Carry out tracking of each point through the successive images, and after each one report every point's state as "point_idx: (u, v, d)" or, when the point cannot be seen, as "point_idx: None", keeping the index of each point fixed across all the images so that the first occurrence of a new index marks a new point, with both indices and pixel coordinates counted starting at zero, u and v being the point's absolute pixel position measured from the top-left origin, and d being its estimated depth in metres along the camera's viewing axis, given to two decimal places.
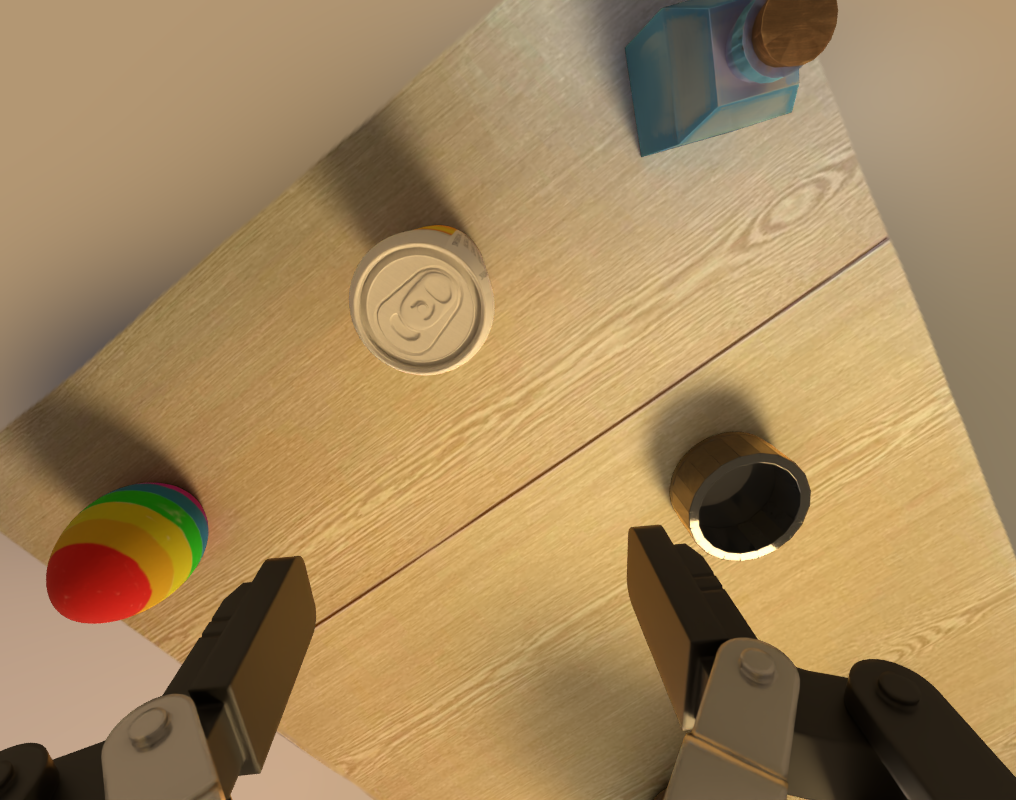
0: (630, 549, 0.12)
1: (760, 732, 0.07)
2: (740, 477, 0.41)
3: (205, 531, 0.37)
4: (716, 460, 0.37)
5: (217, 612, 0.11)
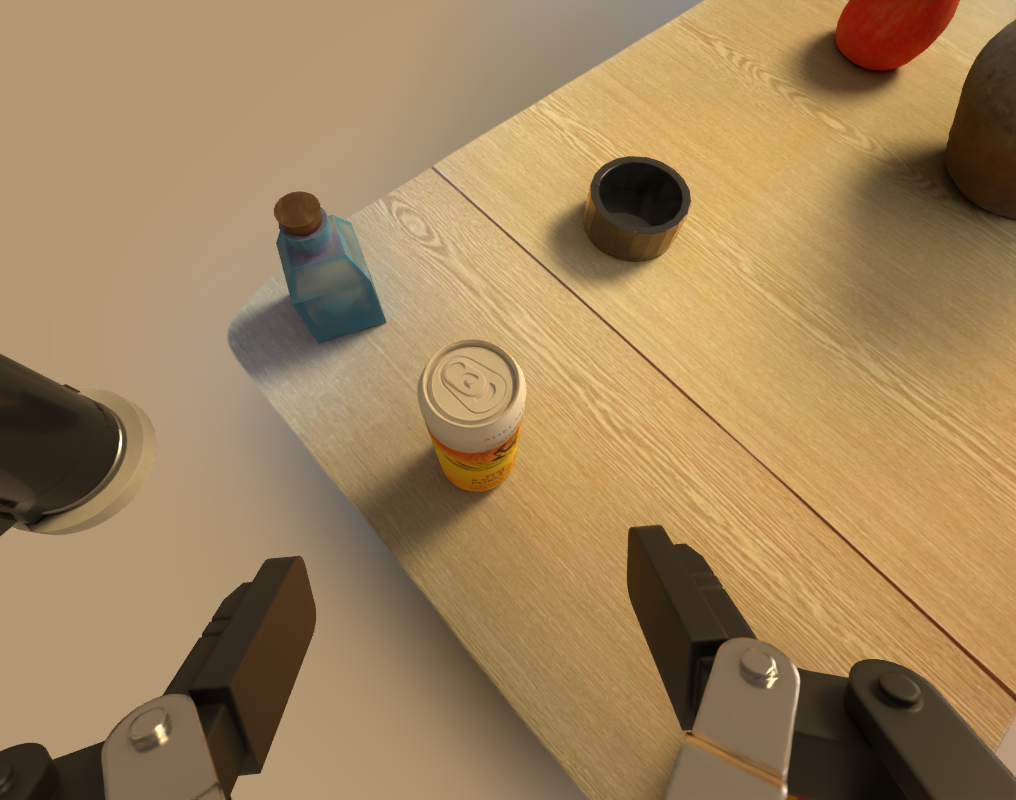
0: (630, 549, 0.12)
1: (760, 732, 0.07)
2: (620, 212, 0.50)
3: None
4: (604, 225, 0.46)
5: (217, 612, 0.11)
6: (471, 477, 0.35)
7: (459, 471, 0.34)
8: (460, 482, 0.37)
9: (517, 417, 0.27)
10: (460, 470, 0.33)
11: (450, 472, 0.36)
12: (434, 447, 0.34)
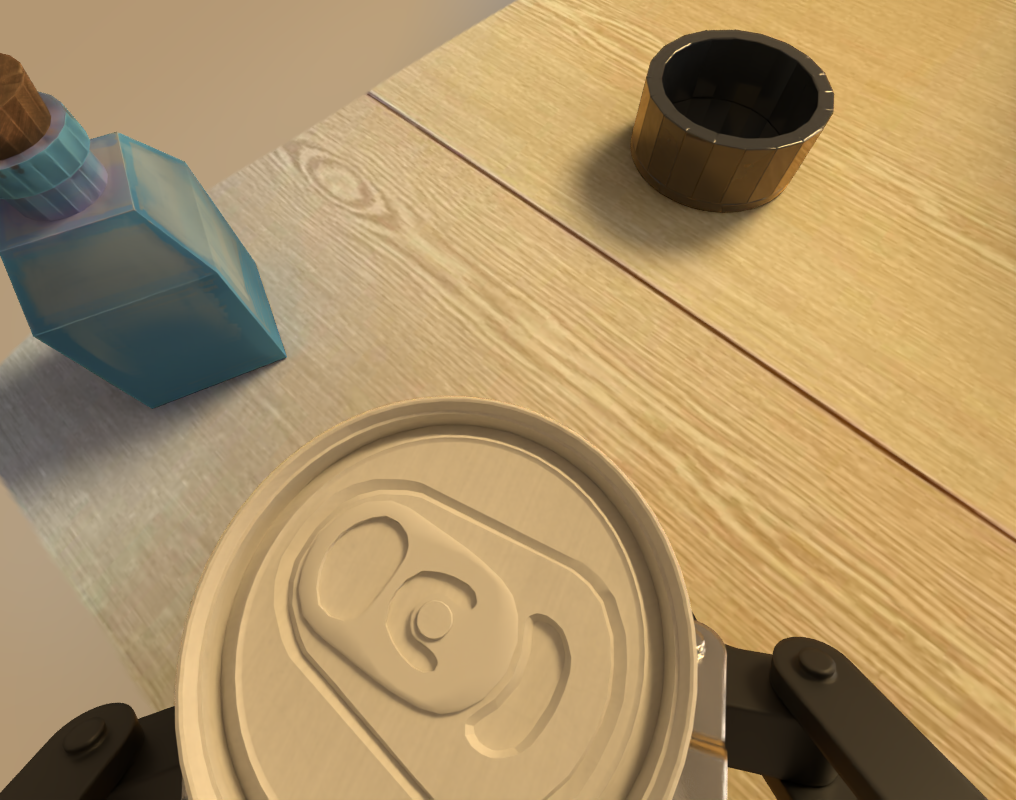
0: None
1: (697, 705, 0.07)
2: None
3: None
4: (681, 146, 0.25)
5: None
6: None
7: None
8: None
9: None
10: None
11: None
12: None
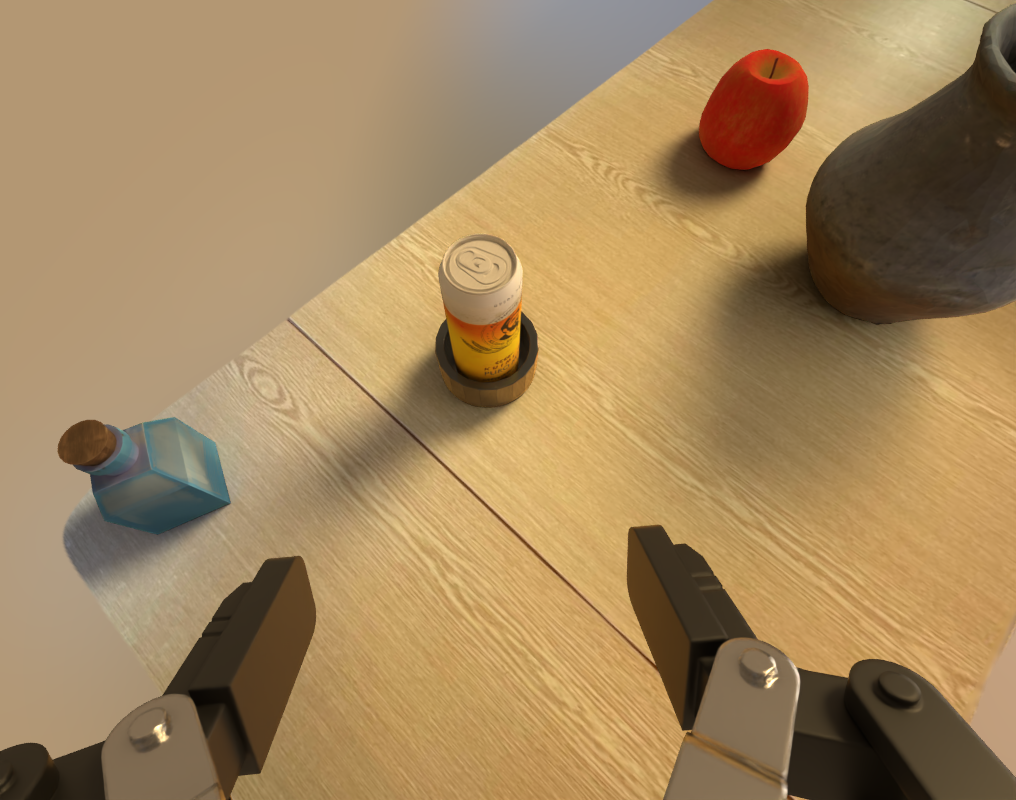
0: (630, 549, 0.12)
1: (760, 732, 0.07)
2: None
3: None
4: (451, 380, 0.45)
5: (217, 612, 0.11)
6: (484, 364, 0.42)
7: (474, 357, 0.42)
8: (475, 376, 0.45)
9: (517, 288, 0.35)
10: (475, 355, 0.41)
11: (466, 365, 0.43)
12: (452, 341, 0.42)
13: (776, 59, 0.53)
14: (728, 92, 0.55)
